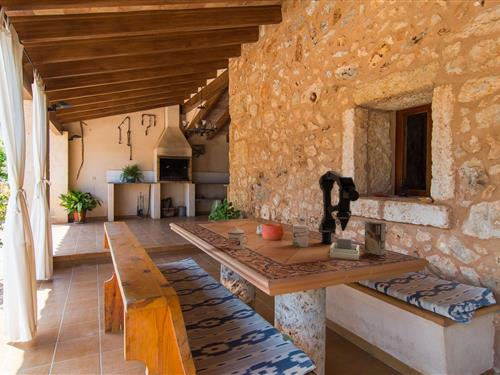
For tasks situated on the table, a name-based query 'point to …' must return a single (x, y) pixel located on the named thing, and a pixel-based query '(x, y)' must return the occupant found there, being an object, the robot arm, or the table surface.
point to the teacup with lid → (236, 239)
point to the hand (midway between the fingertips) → (343, 229)
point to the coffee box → (375, 237)
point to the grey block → (344, 243)
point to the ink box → (300, 235)
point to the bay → (352, 246)
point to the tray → (345, 254)
